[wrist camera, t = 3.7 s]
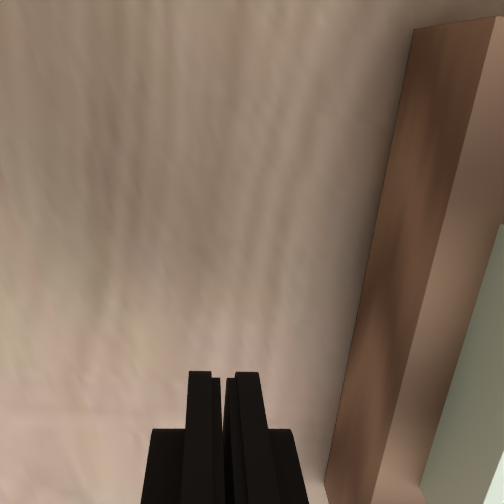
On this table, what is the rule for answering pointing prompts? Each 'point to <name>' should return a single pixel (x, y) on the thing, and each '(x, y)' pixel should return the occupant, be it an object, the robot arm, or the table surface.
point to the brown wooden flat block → (423, 262)
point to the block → (474, 405)
